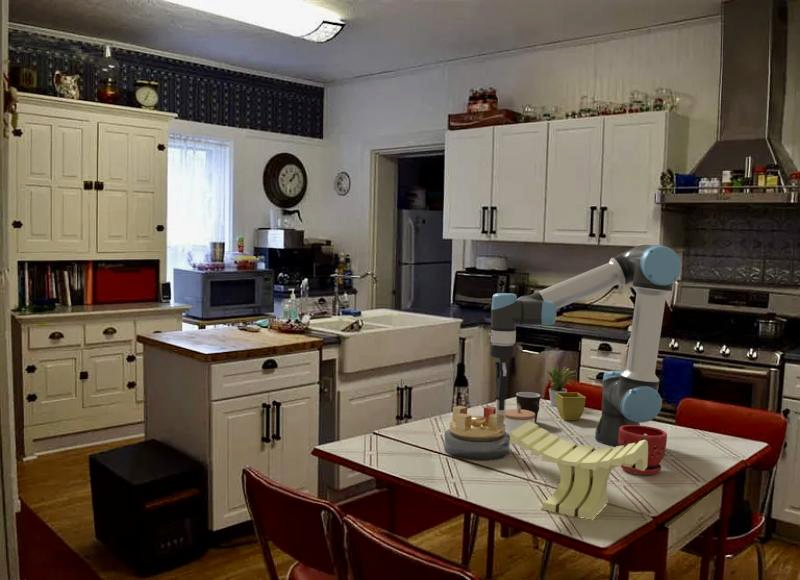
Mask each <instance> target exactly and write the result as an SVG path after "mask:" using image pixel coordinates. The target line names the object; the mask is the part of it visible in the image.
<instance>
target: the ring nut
mask: <svg viewBox="0 0 800 580" xmlns="http://www.w3.org/2000/svg"><path fill="white" fill-rule="evenodd" d="M451 419H452V420H451V421H450V422H449V429H450V435H452V436H453V437H455V438H458V439H462V440H468V441H479V442H486V441H496V440H500V439H502V438H504V437H505V432H506V430H505V424H504V416H503V415H499V414H496V406H485V407H483V416H482V415H471V414H468V407H467V406H463V405H457V406H454V407H452V417H451Z"/></svg>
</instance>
